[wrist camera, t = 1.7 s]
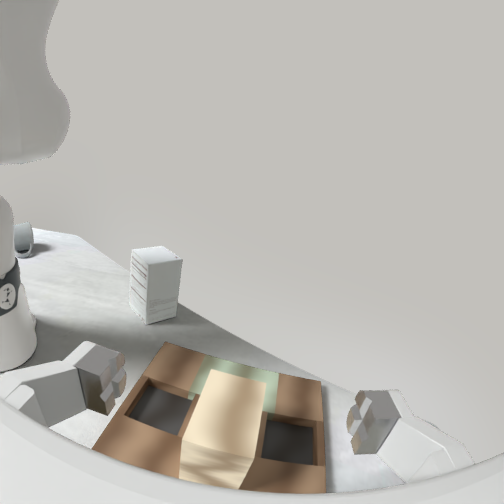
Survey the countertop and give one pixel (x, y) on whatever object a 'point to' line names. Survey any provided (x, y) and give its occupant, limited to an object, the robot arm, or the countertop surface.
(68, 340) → the countertop surface
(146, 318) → the supplement box
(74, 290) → the countertop surface
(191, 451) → the birch block
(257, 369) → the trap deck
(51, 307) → the countertop surface
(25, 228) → the ceramic mug
